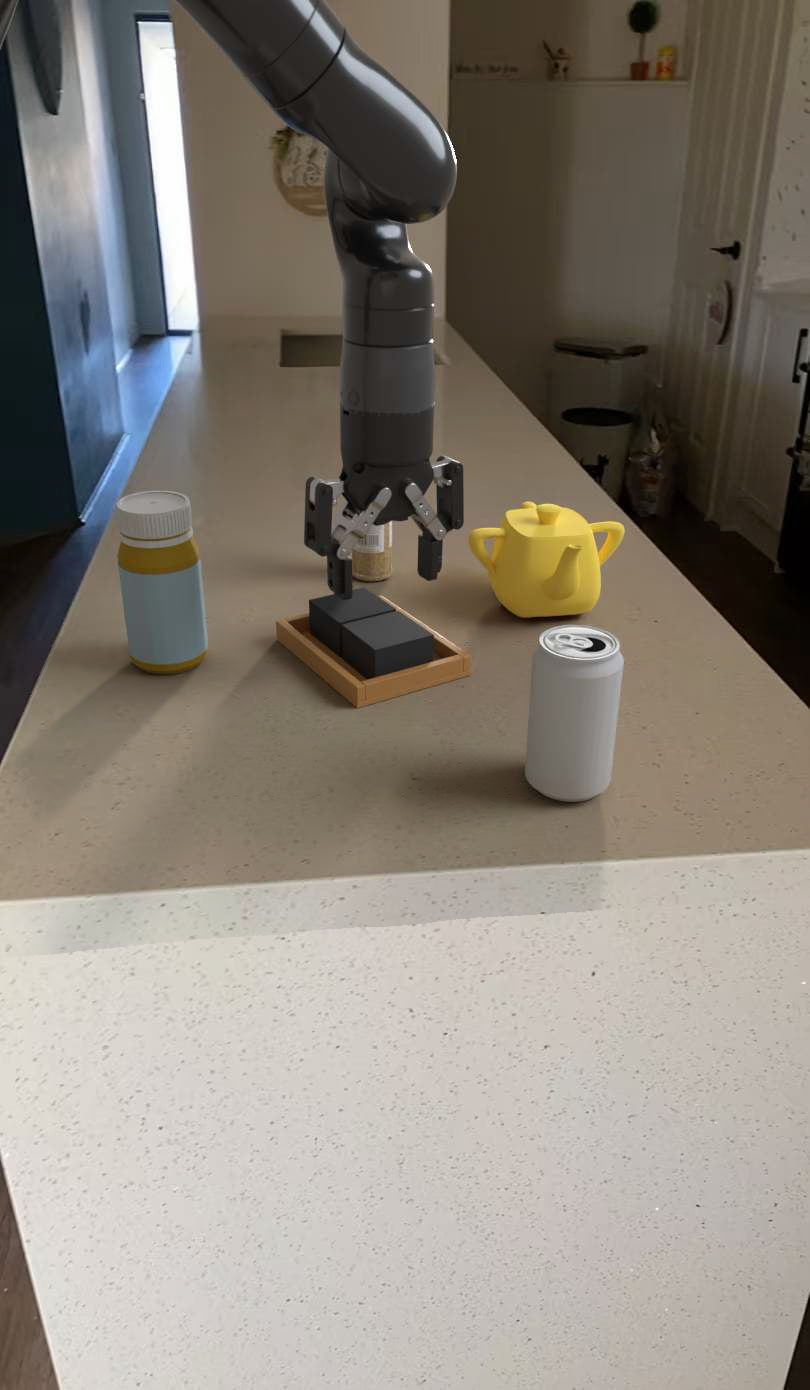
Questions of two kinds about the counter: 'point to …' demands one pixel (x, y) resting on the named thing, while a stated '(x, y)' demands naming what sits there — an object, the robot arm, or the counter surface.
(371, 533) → the sprinkles bottle
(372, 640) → the pad
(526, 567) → the teapot
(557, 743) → the beverage can
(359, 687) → the tray
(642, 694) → the counter surface
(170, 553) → the bottle
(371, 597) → the pad
